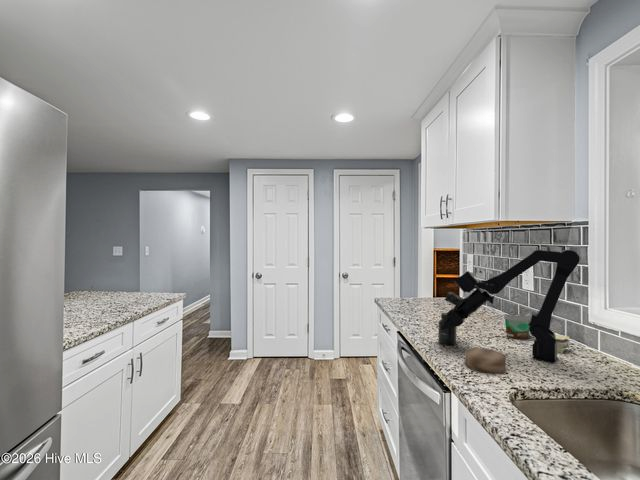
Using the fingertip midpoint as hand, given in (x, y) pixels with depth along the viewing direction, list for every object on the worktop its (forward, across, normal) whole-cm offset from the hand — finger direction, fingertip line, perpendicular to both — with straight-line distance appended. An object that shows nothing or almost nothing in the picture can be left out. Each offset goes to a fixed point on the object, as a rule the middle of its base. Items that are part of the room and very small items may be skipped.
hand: (444, 326), depth 138 cm
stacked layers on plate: (-22, -14, +33) cm, 42 cm away
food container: (-14, -25, +23) cm, 37 cm away
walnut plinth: (-8, +18, +17) cm, 26 cm away
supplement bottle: (+4, 0, +6) cm, 7 cm away
